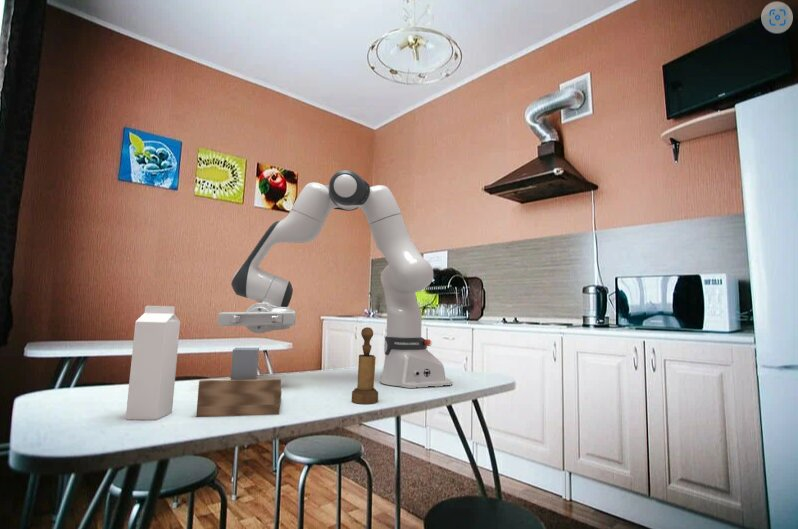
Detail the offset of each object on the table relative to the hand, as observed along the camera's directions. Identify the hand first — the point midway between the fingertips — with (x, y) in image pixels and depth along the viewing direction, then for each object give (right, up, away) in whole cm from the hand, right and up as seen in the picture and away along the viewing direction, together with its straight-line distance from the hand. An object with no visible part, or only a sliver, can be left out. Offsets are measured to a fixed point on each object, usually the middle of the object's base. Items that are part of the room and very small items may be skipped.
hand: (255, 319), depth 106 cm
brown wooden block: (+2, -18, -15) cm, 23 cm away
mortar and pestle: (+29, -20, -6) cm, 35 cm away
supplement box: (+28, -21, +4) cm, 35 cm away
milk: (-13, -16, -24) cm, 32 cm away
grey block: (+3, -15, -17) cm, 23 cm away
